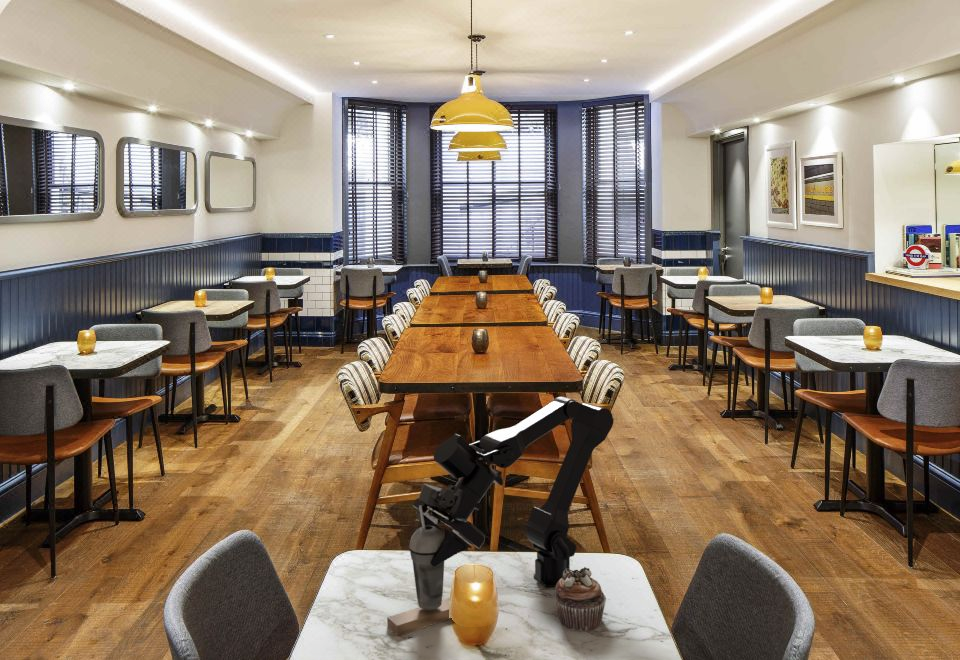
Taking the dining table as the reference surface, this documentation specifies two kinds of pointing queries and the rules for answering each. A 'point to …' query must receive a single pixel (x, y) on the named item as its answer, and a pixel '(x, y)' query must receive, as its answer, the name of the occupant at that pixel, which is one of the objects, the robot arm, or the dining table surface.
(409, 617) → the walnut block
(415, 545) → the beverage cup
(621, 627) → the dining table surface
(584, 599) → the cupcake
